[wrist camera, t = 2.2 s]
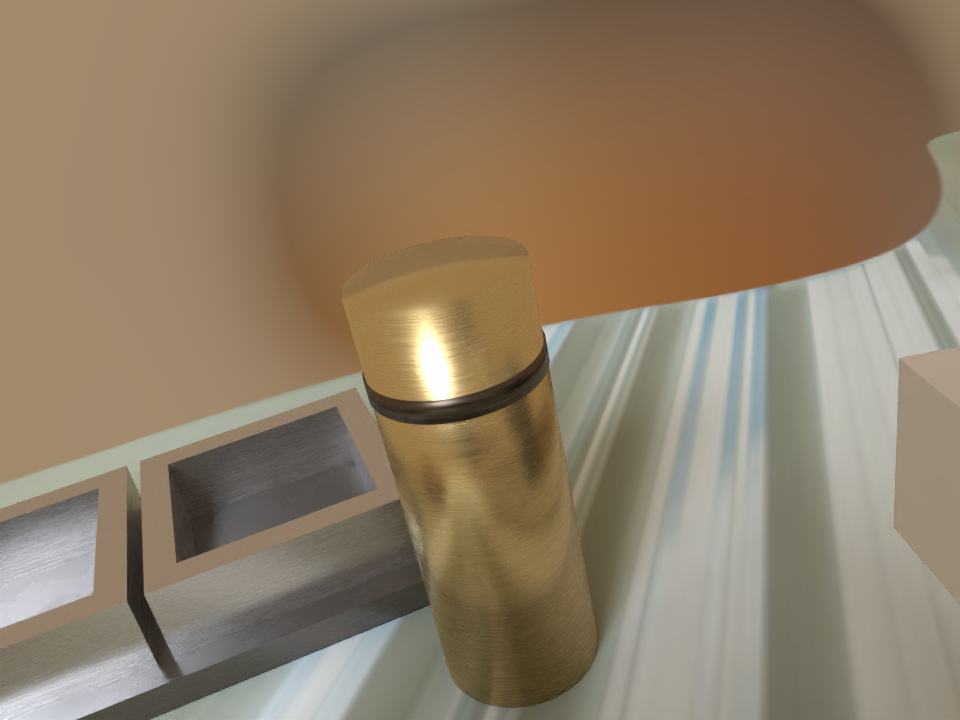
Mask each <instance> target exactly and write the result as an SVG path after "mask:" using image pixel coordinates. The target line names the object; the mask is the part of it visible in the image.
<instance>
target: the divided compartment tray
mask: <svg viewBox="0 0 960 720" xmlns="http://www.w3.org/2000/svg"><path fill="white" fill-rule="evenodd" d="M140 474H141V497H140V495H139V492H138V490H137V488H136V486H135V483H134V481H133V479H132V477H131V474H130V472H129V470H128V468H127V466H125V467H122V468H119V469H116V470H113V471H110V472H107V473H104V474H101V475H99V476H96V477H93V478H90V479H87V480H84V481H81V482H78V483H75V484H72V485H69V486H66V487H63V488H61V489H58V490H55V491H52V492H49V493H46V494H43V495H40V496H37V497H34V498H31V499H28V500H25V501H22V502H20V503H17V504H14V505H11V506H8V507H5V508H2V509H0V720H148V719H150V718H153V717H155V716H158V715H160V714H163V713H165V712H168V711H170V710H172V709H175V708H177V707H180V706H182V705H185V704H187V703H190V702H192V701H194V700H197V699H199V698H202V697H204V696H207V695H209V694H212V693H214V692H216V691H219V690H221V689H224V688H226V687H229V686H231V685H234V684H236V683H239V682H241V681H243V680H246V679H248V678H251V677H253V676H256V675H258V674H261V673H263V672H265V671H268V670H270V669H273V668H275V667H278V666H280V665H283V664H285V663H288V662H290V661H292V660H295V659H297V658H300V657H302V656H305V655H307V654H310V653H312V652H314V651H317V650H319V649H322V648H324V647H327V646H329V645H332V644H334V643H337V642H339V641H341V640H344V639H346V638H349V637H351V636H354V635H356V634H359V633H361V632H363V631H366V630H368V629H371V628H373V627H376V626H378V625H381V624H383V623H386V622H388V621H390V620H393V619H395V618H398V617H400V616H403V615H405V614H408V613H410V612H412V611H415V610H417V609H420V608H422V607H425V606H427V605H430V603H429V600H428V596H427V593H426V589H425V586H424V582H423V579H422V575H421V572H420V568H419V565H418V561H417V558H416V554H415V551H414V547H413V544H412V541H411V537H410V534H409V530H408V527H407V523H406V520H405V516H404V513H403V509H402V506H401V502H400V499H399V495H398V492H397V488H396V485H395V481H394V478H393V474H392V471H391V468H390V464H389V461H388V457H387V454H386V450H385V447H384V443H383V440H382V436H381V433H380V430H379V429H378V427H377V425H376V423H375V422H374V420H373V418H372V416H371V415H370V413H369V411H368V409H367V408H366V406H365V404H364V402H363V400H362V399H361V397H360V395H359V393H358V392H357V390H356V388H353V389H350V390H347V391H344V392H342V393H339V394H336V395H333V396H330V397H327V398H324V399H321V400H318V401H315V402H312V403H309V404H306V405H303V406H301V407H298V408H295V409H292V410H289V411H286V412H283V413H280V414H277V415H274V416H271V417H268V418H265V419H262V420H260V421H257V422H254V423H251V424H248V425H245V426H242V427H239V428H236V429H233V430H230V431H227V432H224V433H222V434H219V435H216V436H213V437H210V438H207V439H204V440H201V441H198V442H195V443H192V444H189V445H186V446H183V447H181V448H178V449H175V450H172V451H169V452H166V453H163V454H160V455H157V456H154V457H151V458H148V459H145V460H142V461H140Z"/></svg>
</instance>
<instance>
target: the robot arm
mask: <svg viewBox="0 0 960 720" xmlns="http://www.w3.org/2000/svg"><path fill="white" fill-rule="evenodd" d="M894 528H895V529H896V530H897V532H898V533H899V534H900V535H901V536H902V537H903V539H904V540H905V541H906V542H907V543H908V544H909V546H910V547H911V548H912V549H913V550H914V551H915V553H916V554H917V555H918V556H919V557H920V558H921V560H922V561H923V562H924V563H925V564H926V565H927V567H928V568H929V569H930V570H931V571H932V572H933V574H934V575H935V576H936V577H937V578H938V579H939V581H940V582H941V583H942V584H943V585H944V586H945V588H946V589H947V590H948V591H949V592H950V593H951V595H952V596H953V597H954V598H955V599H956V600H957V602H958V603H959V604H960V349H959V348H957V347H954V348H949V349H944V350H939V351H934V352H929V353H924V354H919V355H914V356H909V357H904V358H899V386H898V416H897V445H896V475H895V504H894Z"/></svg>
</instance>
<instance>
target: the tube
mask: <svg viewBox="0 0 960 720" xmlns="http://www.w3.org/2000/svg"><path fill="white" fill-rule="evenodd" d="M341 297H342V301H343V304H344V307H345V311H346V314H347V318H348V321H349V325H350V328H351V332H352V335H353V339H354V342H355V346H356V349H357V353H358V356H359V360H360V363H361V367H362V370H363V373H362V375H363V381H364V385H365V388H366V391H367V395H368V398H369V401H370V404H371V406H372V407H373V408H374V412H375V415H376V419H377V422H378V426H379V429H380V433H381V436H382V440H383V443H384V447H385V450H386V454H387V457H388V461H389V464H390V468H391V471H392V474H393V478H394V481H395V485H396V488H397V492H398V495H399V499H400V502H401V506H402V509H403V513H404V516H405V520H406V523H407V527H408V530H409V534H410V537H411V541H412V544H413V547H414V551H415V554H416V558H417V561H418V565H419V568H420V572H421V575H422V579H423V582H424V586H425V589H426V593H427V596H428V600H429V603H430V607H431V610H432V614H433V617H434V621H435V624H436V627H437V631H438V634H439V638H440V641H441V645H442V648H443V652H444V655H445V659H446V662H447V666H448V669H449V672H450V675H451V677H452V679H453V680H454V682H455V683H456V685H457V686H458V687H459V688H460V689H461V690H462V691H463V692H464V693H466V694H467V695H469V696H470V697H472V698H473V699H476V700H478V701H480V702H483V703H486V704H489V705H494V706H500V707H523V706H529V705H534V704H538V703H542V702H545V701H547V700H550V699H552V698H555V697H556V696H558V695H560V694H562V693H564V692H565V691H567V690H568V689H570V688H571V687H572V686H574V685H575V684H576V683H577V682H578V681H579V680H580V679H581V678H582V677H583V676H584V675H585V674H586V672H587V671H588V669H589V668H590V666H591V665H592V663H593V661H594V658H595V655H596V652H597V646H598V636H597V630H596V625H595V619H594V614H593V608H592V603H591V597H590V592H589V586H588V581H587V575H586V570H585V564H584V559H583V553H582V548H581V542H580V537H579V531H578V526H577V520H576V515H575V509H574V503H573V498H572V492H571V487H570V481H569V476H568V470H567V465H566V459H565V454H564V448H563V443H562V437H561V432H560V426H559V421H558V415H557V410H556V404H555V399H554V393H553V388H552V382H551V377H550V371H549V363H550V360H549V354H548V349H547V343H546V338H545V334H544V332H543V330H542V327H541V322H540V317H539V311H538V305H537V300H536V294H535V289H534V283H533V278H532V272H531V266H530V261H529V255H528V251H527V250H526V248H525V247H524V246H522V245H521V244H520V243H518V242H516V241H513V240H510V239H505V238H501V237H493V236H466V237H455V238H448V239H441V240H436V241H431V242H427V243H423V244H419V245H415V246H412V247H408V248H405V249H402V250H399V251H396V252H394V253H391V254H389V255H386V256H384V257H382V258H379V259H377V260H376V261H373V262H372V263H370V264H368V265H366V266H365V267H363V268H361V269H360V270H359V271H357V272H356V273H355V274H353V275H352V276H351V277H350V278H349V279H348V280H347V281H346V283H345V284H344V286H343V288H342V291H341Z"/></svg>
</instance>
